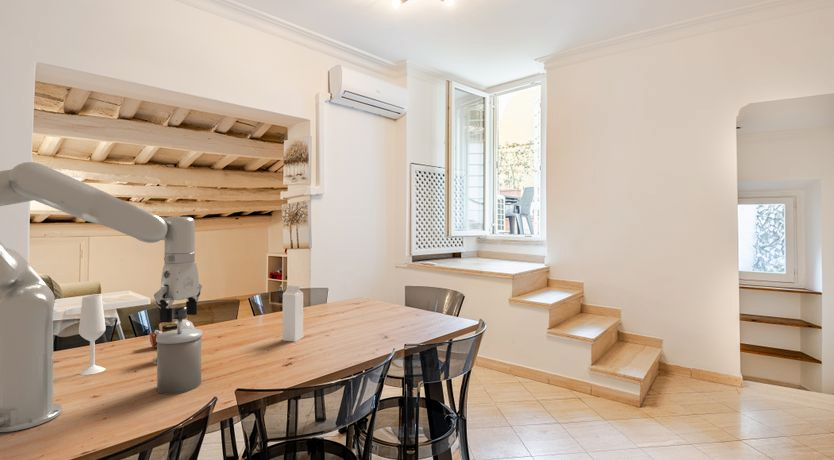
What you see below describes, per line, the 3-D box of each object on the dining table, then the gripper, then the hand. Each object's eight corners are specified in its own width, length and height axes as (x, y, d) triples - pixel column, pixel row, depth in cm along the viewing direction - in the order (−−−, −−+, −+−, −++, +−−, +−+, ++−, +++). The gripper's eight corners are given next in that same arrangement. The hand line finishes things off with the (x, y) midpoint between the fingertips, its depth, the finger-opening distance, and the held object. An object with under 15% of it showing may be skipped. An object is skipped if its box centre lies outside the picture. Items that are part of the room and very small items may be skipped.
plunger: (180, 335, 114) (180, 308, 114) (169, 334, 114) (169, 308, 114) (189, 331, 117) (189, 306, 117) (178, 331, 118) (178, 305, 118)
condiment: (182, 360, 138) (182, 325, 138) (153, 364, 133) (153, 329, 133) (181, 354, 144) (181, 321, 144) (153, 358, 139) (153, 324, 139)
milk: (290, 336, 168) (291, 284, 168) (303, 337, 167) (303, 285, 167) (282, 340, 163) (282, 286, 163) (295, 341, 161) (295, 287, 161)
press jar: (183, 395, 109) (183, 340, 109) (145, 392, 111) (145, 338, 111) (213, 378, 122) (213, 328, 122) (179, 375, 124) (179, 326, 123)
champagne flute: (102, 365, 132) (102, 293, 132) (108, 370, 128) (108, 295, 127) (76, 371, 127) (76, 296, 127) (81, 376, 122) (81, 298, 122)
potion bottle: (198, 344, 162) (155, 357, 151) (189, 327, 166) (147, 338, 155) (200, 328, 157) (156, 341, 146) (191, 311, 162) (148, 322, 151)
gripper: (168, 262, 106) (168, 326, 106) (211, 257, 123) (211, 312, 124) (143, 261, 107) (143, 324, 108) (189, 256, 125) (189, 311, 125)
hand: (179, 318), depth 116 cm, fingers open, 9 cm apart
